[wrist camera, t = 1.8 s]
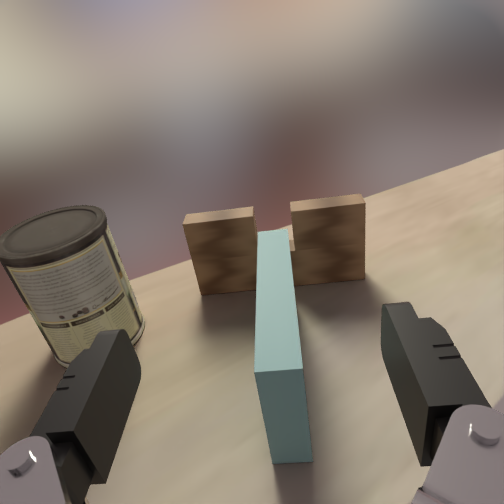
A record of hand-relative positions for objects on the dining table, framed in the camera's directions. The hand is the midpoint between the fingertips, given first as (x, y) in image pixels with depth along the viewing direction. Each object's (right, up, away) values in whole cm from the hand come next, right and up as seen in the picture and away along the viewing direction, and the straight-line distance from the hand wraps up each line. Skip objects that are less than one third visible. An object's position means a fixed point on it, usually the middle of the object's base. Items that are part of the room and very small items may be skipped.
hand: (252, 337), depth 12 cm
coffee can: (-17, -7, +33) cm, 38 cm away
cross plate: (+3, -8, +24) cm, 26 cm away
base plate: (+4, -1, +36) cm, 37 cm away
